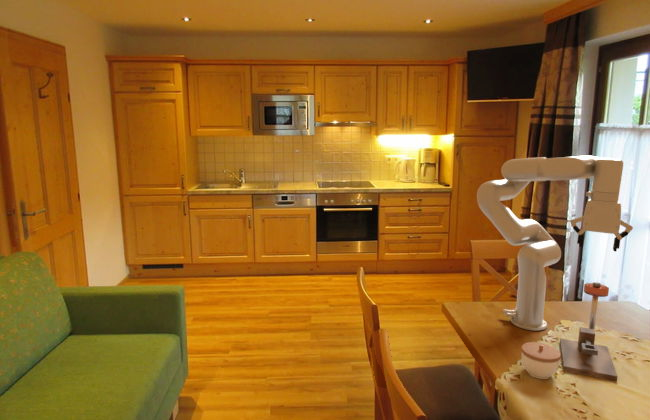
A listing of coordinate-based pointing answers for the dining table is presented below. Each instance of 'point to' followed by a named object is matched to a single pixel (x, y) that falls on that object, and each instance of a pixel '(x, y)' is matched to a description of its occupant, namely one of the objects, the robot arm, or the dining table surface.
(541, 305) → the robot arm
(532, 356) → the lidded jar
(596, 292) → the orange knobbed disc
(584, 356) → the eye stand
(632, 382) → the dining table surface
